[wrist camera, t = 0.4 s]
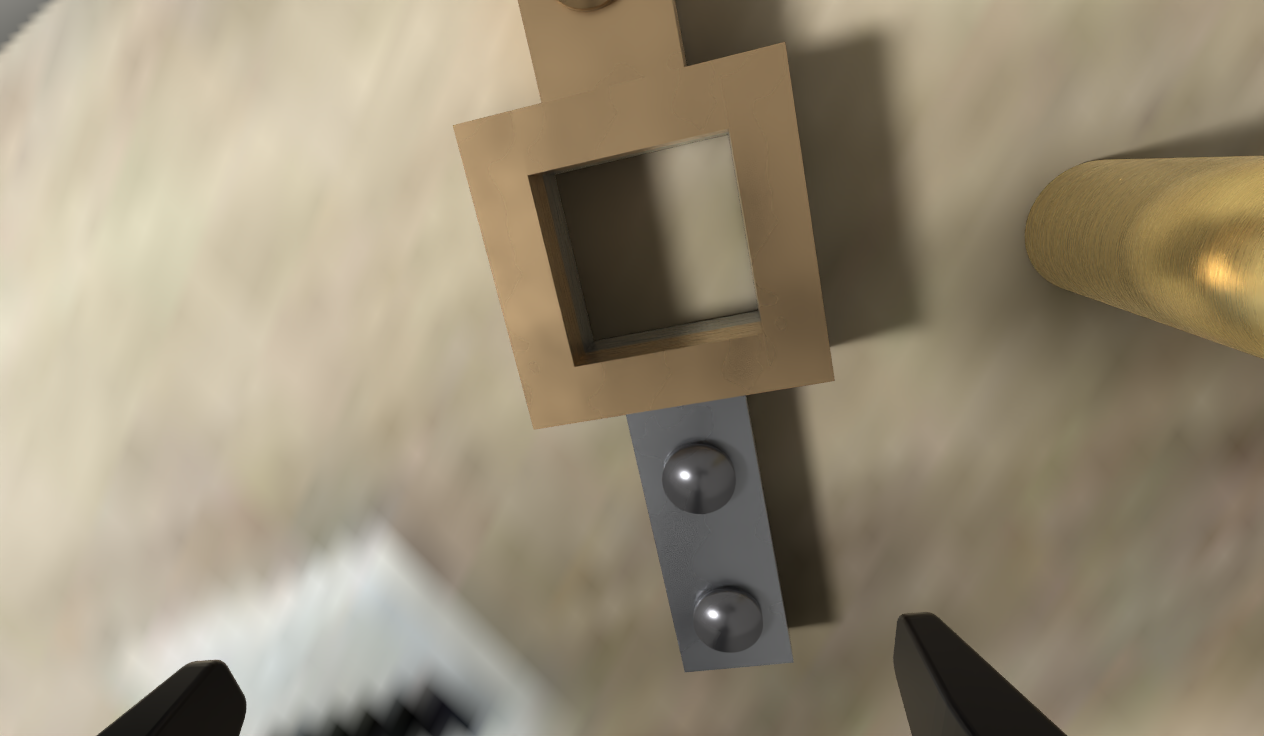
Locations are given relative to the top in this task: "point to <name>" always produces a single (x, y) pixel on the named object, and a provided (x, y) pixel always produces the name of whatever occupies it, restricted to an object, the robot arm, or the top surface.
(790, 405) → the top surface
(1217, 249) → the brass pin
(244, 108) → the top surface
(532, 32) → the square frame with handle
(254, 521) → the top surface
